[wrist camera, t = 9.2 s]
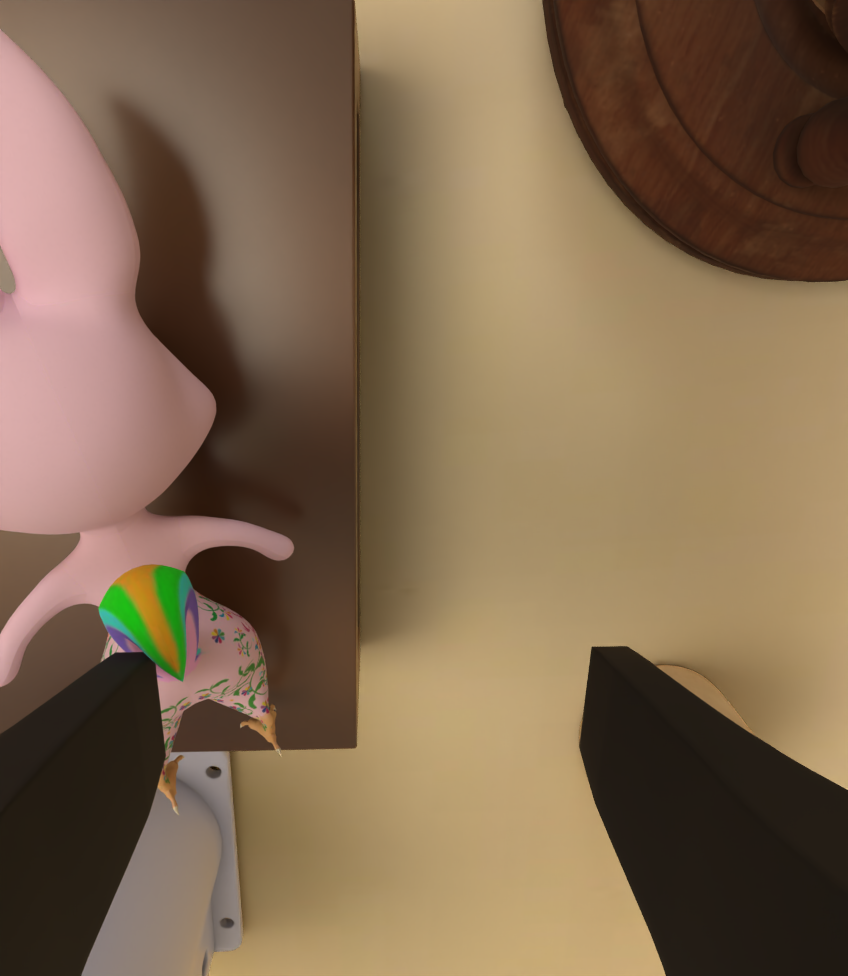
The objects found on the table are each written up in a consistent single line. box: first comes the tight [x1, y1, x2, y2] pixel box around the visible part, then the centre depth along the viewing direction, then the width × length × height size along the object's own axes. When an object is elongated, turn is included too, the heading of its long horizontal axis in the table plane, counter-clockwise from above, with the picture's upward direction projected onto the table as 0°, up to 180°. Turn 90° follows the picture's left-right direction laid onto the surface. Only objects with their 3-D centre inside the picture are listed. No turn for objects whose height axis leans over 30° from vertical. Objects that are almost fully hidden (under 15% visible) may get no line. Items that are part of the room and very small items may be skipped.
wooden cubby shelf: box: [0, 0, 360, 752], centre depth 17 cm, size 17×11×5 cm, turn 178°
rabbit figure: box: [0, 29, 294, 815], centre depth 12 cm, size 6×6×15 cm
